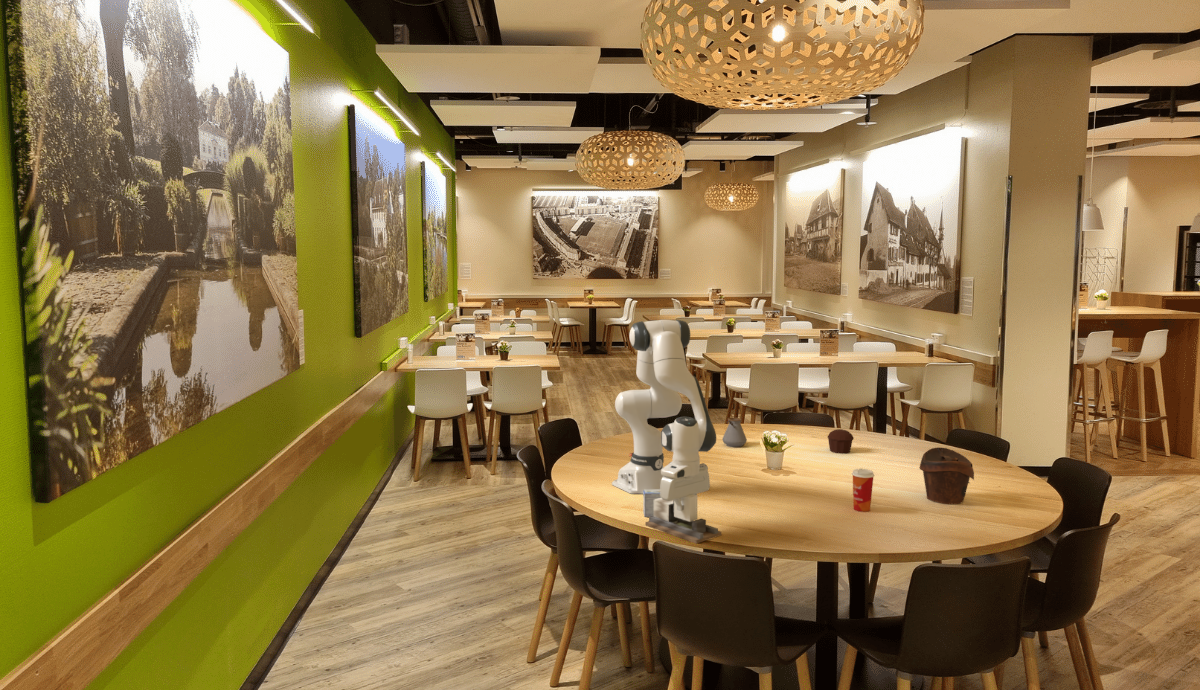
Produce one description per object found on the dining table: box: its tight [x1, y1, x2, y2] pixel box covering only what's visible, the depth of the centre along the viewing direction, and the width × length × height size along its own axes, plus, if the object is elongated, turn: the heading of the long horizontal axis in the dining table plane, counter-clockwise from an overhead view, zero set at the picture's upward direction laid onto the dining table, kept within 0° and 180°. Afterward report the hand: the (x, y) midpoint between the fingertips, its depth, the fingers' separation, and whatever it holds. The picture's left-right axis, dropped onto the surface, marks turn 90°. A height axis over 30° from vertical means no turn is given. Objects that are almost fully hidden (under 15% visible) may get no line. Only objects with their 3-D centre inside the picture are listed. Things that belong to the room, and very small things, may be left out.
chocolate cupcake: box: [919, 446, 975, 505], centre depth 300 cm, size 18×20×18 cm
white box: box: [673, 494, 698, 522], centre depth 266 cm, size 4×8×8 cm, turn 41°
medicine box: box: [642, 489, 661, 518], centre depth 283 cm, size 8×4×9 cm, turn 92°
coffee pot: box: [721, 417, 747, 448], centre depth 380 cm, size 21×12×15 cm, turn 161°
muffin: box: [827, 428, 854, 455], centre depth 373 cm, size 12×11×10 cm
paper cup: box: [851, 468, 875, 513], centre depth 289 cm, size 8×8×14 cm
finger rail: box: [645, 498, 723, 544], centre depth 267 cm, size 23×12×8 cm, turn 41°
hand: (685, 508), depth 266 cm, fingers closed on white box, 4 cm apart
